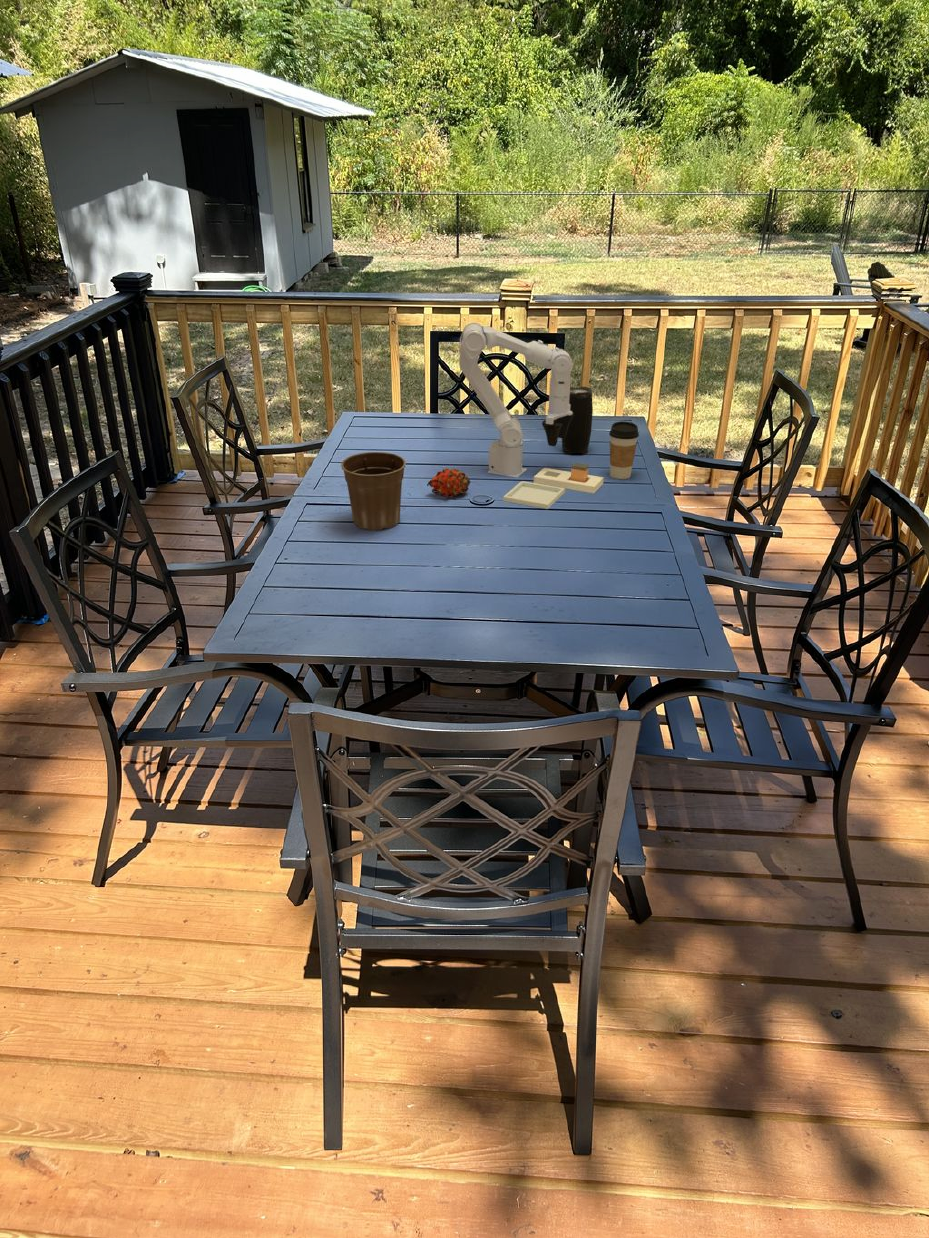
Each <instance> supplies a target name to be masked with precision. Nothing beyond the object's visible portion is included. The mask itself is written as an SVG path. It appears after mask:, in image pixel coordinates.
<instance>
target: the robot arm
mask: <svg viewBox="0 0 929 1238" xmlns="http://www.w3.org/2000/svg"><path fill="white" fill-rule="evenodd" d="M485 347H486V349H487V350H490V349H492V348H495V347H500V348H503V349H506V350H509V351H511V352H515V353H517V354H521V355H523V356H524V358H525V361H526V362H529V363H532V364H534V365H537V366H539V367H542V368H544V369H548V370H549V369H551V370H550V378H549V392H548V393H549V394H548V409H547V415H546V416H545V419H544V420H542V422H541V426H542V428H543V430H544V432H545V434H546V439H547V445H548V446H550V447H556V446H557V443H558V439H562V438H563V439H565V437H566V434H567V430H568V427H569V424H570V421H571V419H572V418H573V416H574V414H573V412H572V411H570V404H569V396H570V387H571V373H572V371H573V368H574V365H573V360H572V358H571V356H570V354H569V353H568V352H567V351H565V350H564V349H563V348H559V347H551V346H549V345H546V344H545V343H544V341H542V340H540V339H538V340H537V341H536V340H532V341H530V342H525V341H523V340H521V339H519V338H517V337H514V336H512V335H510V334H508V333H505V332H503V331H500V330H498V329H496V328H494V327H492V326H488V325H484V324H483V325H481V324H480V323H479V322H478V323H477V322H470V323H468V324H466V325H465V326H464V327H463V329H462V332H461V334H460V337H459V361H458V364H459V368H460V370H461V372H462V374H463V375H464V377H465V378H466V380H467V382H468V383H469V384H470V386H471V387H472V389H473V391H474V392H475V394H476V395H477V397H478V398H479V399H480V401H481V403H482V404H483V406H484V407H485V409H486V410H487V412H488V414H489V415H490V417H491V418H492V420H493V422H494V424H495V426H496V428H497V430H498V432H499V434H500V438H499V439H498V440H493V441H492V442H491V444H490V446H489V450H488V471H487V473H488V474H489V473H490V474H495V475H500V476H501V475H502V476H506V477H512V478H519V477H520V475H522V474H523V473H524V472H526V471H527V470H528V469H527V468H526V467H523V459H524V458H523V453H524V442H523V438H524V435H523V431H522V425H521V422H520V420H519V419H518V418H517V417H515V416H513V415H512V413H511V412H510V410H509V409H507V407H506V406H505V404H504V403H503V402H502V400H501V398H500V397H499V395H498V393H497V392H496V391H495V388H494V387H493V385H492V384H491V383H490V381H489V379H488V378H487V376H486V375H485V373H484V372H483V370H482V367H481V366H480V365H479V363H478V362H479V358H480V355H481V353H482V352H483V350H484V349H485Z"/></svg>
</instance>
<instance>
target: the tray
mask: <svg viewBox="0 0 929 1238" xmlns="http://www.w3.org/2000/svg"><path fill="white" fill-rule="evenodd" d="M565 493H566V489H565V488H559V487H553V486H548V485H542V484H536V483H534V482H530V481H524V480H523V481H522V480H521V481H520V482H519V483H518V484H516V485H515V486H513V488H511V489H510V490H509V491H508V492H507V493H506V494H505V495H504V496H503V497H502V501H503V502H508V503H513V504H518V505H522V506H529V507H534V508H539V509H545V510H548V509H550V508H551V507H552V506H553V505H554V504H555V503H556V502H557V501H558V500H559V499H560V498H561V497H562V496H563V495H564V494H565Z"/></svg>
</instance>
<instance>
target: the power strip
mask: <svg viewBox="0 0 929 1238" xmlns="http://www.w3.org/2000/svg"><path fill="white" fill-rule="evenodd" d="M533 483H536V484H542V485H548V486H553V487H559V488H565V490H571V491H577V492H582V493H583V492H584V493H588V494H595V493H596V492H597V491H598V490H599V489H600V488H601V487H602V486H603V484H604V477H603V476H597V475H592V474H591V475H590V474H588V481H587V482H586V483H583V482H577V481H571V471H567V470H561V469H554V468H548V467H543V468H542V469H541V470H539V472H537V474H536V475H534V476H533Z"/></svg>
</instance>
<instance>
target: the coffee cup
mask: <svg viewBox="0 0 929 1238" xmlns="http://www.w3.org/2000/svg"><path fill="white" fill-rule="evenodd" d="M608 435H609V436H610V440H609V476H610V477H611V478H612V479H613V478H614V479H616V480H627V479H630V477H631V474H632V469H633V465H634V459H635V455H636V449H637V444H638V442H637V441H638V438H639V436H640V433H639V427H638V426H637V425H636V424H635V423H633V422H631V421H624V420H623V421H617V422H614V423H612V424H611V429H610V431H609V433H608Z"/></svg>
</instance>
